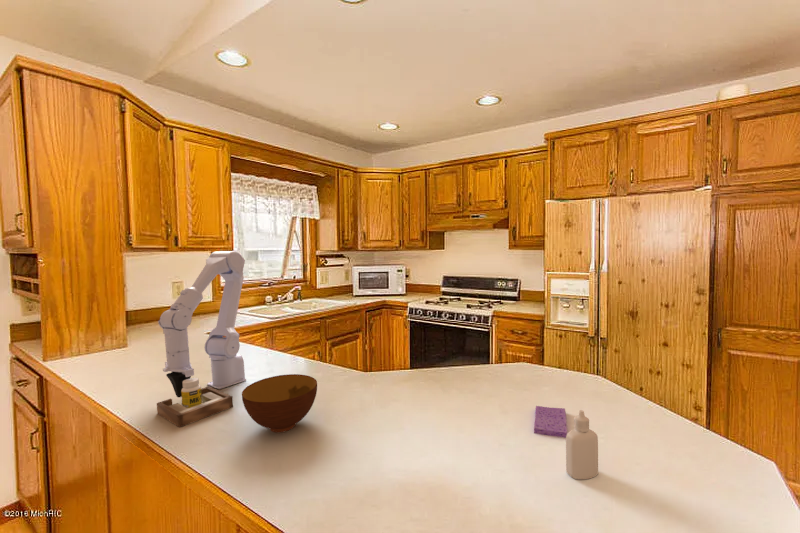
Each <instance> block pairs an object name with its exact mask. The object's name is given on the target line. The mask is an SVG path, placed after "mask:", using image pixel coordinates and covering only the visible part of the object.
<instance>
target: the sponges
mask: <svg viewBox="0 0 800 533" xmlns="http://www.w3.org/2000/svg"><path fill="white" fill-rule="evenodd" d="M534 414H535V415H534V422H533V423H534V424H533V434H535V435H536V434H537V435H542V436H543V435H544V436H545V435H546V436H552V437H558V438H559V437H560V438H564V439H566V435H567V434H568V428H567V427H568V426H567V417H566V408H563V407H562V408H560V407H547V406H540V405H536V406H535V413H534Z"/></svg>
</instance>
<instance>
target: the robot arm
mask: <svg viewBox="0 0 800 533" xmlns="http://www.w3.org/2000/svg"><path fill="white" fill-rule="evenodd" d="M245 262H246V260H245V258H244V257H243V255H242V253H241V252H240V251H238V250H232V251H231V250H230V251H229V250H228V251H227V250H226V251H213V252H211V253H210V254H209V256H208V257H207V258H206V259H205V265H204V267H203V268H202V270H201V272H200V273H199V274H198V276H197V278H196V279H195V281H194V283H193V284H192V286H191V287H186V288H184V289H181V291H180V292H179V296H178V297H177V299H176V300H175V301H174V303H173V304H172V303H171V305H170V308H169V309H167V310H165V311H163V312H162V313H161V315H160V317H159V320H157V323H158V326H159V327H160V328H161V329H162V334H164V344H165V346H164V347H165V355H166V356H165V358H166V361H165V362H164V366H165V367H164V368H162V371H163V372H164V373H166V372H167V373H166V374H165V375H166V378H167V379H168V380H169V381H170V383H171V385H172V387H173V388H172V389H173V391H174V394H175V395H176V397H177V398H182V393H181V390H182V388H183V381H184V380H186V379H190V378H192V377H193V376H195V369H194V368H193V367H192V363H191V362H190V347H189V346H190V345H189V335H188V327H189V326H191V323H192V319H193V318H192V317H193V313H194V312H195V310H196V309H197V307H198V306H199V305H200V303H201V302H202V301H203V299H204V296H203V293H204V291H206V288H208V286H209V285H210V284H211V283H212V281H213V280H214V279H215V278H216V277H217V275H219V276H221V277H222V278H223V280H224V281H225V282H224V287H223V290H222V297H221V302H220V305H219V306H220V307H219V312H218V316H217V321H216V325H215V327H214V328H213V329H212V330H210V332H209V334H208V335H209V336H208V338H207V339H206V340H205V343H204V352H205V354H207V355H208V358H209V359H210V366H211V377H212V378H211V380H212V381H211V382H207V384H206V385H207V386H209V387H211V388H214V389H216V390H222V389H225V388H227V387H230V386H233V385H235V384H240V383H243V382H245V381H247V378H246V375H245V361H244V360H245V359H244V358H243V355H241V354H240V353H239V351H240V333H238V331H236V329H235V325H236V321H237V317H238V316H237V315H238V311H239V310H238V309H239V305H240V299H241V294H242V293H241V292H242V288H243V282H244V276H245V275H244V267H245ZM168 372H169V373H168Z"/></svg>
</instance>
